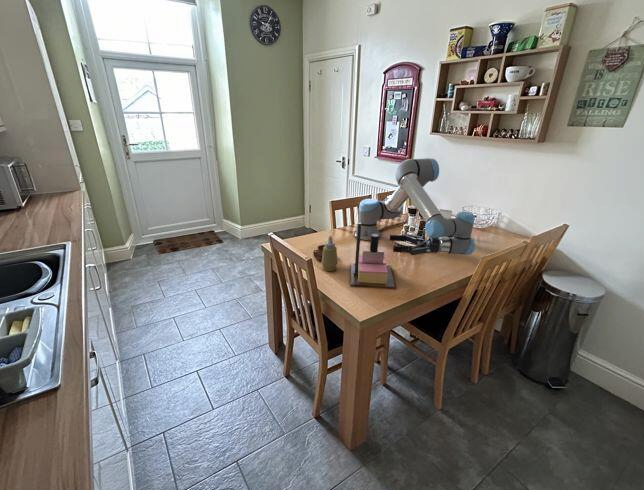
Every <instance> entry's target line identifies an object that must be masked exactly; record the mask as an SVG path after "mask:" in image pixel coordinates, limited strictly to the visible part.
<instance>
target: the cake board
mask: <svg viewBox="0 0 644 490" xmlns="http://www.w3.org/2000/svg"><path fill="white" fill-rule="evenodd" d="M357 226H358V228H357V227H356V228H357V238H356V243H355V245H356V246H355V258H354V263H350V287H354V288H355V287H357V288H371V289H392V290H395V289H396V286H395V281H394V277H393V274H392V269H391V266H390V264H389V265H388V264H386V266H387V270H388V277H387V284H381V283H363V282H359V281H358V263H359V255H360V248H361V239H360V235H361V223H358V222H357Z"/></svg>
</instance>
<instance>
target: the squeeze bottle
mask: <svg viewBox="0 0 644 490" xmlns="http://www.w3.org/2000/svg"><path fill="white" fill-rule="evenodd" d="M324 245H325V246H324V248H323V255H322V260H321V265H322V267H323V270H324V271H326V272H334V271H335V270H336V268H337V265H338V251H337V249H338V248H337V246H336V242H334V241H333V236H332V235H329V236H328V239H327V241H325V244H324Z"/></svg>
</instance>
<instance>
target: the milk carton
mask: <svg viewBox="0 0 644 490" xmlns="http://www.w3.org/2000/svg"><path fill="white" fill-rule="evenodd" d="M438 210H439V212H440V213H441V214H442V216H443V217H444V218H445V219H451V218H452V213H453V210H451V209H443V208H439V209H438ZM445 237H448V236H445Z"/></svg>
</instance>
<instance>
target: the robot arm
mask: <svg viewBox="0 0 644 490" xmlns="http://www.w3.org/2000/svg"><path fill="white" fill-rule="evenodd" d="M439 175H440V165H439V162H438V161H437V160H436V159H435V158H430V157H427V158H408V159H405V160H403V161H402V162H400V163H399V164H398V166H397V167H396V170H395V180H396V183H397V185H398V187H397V188H396V189H395V190H394V192H393V193H392V194H391V195H388V196H386V197H385V198H384V200H378V199H377V198H365V199H362V200H361V201H360V202H359V207H358V222H357V224H358V223H361V235H360V241H371V235H372V234H378V235H379V236H380V233H379V232H381V231H383V230H384V229H387V228H391V227H395V226H399V225H402V224H406V223H408V222H407V221H408V220H405V221H402V222H399V223H394V224H391V225H387V226H384V227H382V228H381V229H378V221H380V220H381V221H382V220H394V219H397V218H399V217H400V216H401V215H402V213H403V212H402V211H403V205H404V204H405V202H407V201H408V200H411V202H412V204H413V205H414V207H415V209H416V210H417V211H418V213H419V215H420V217H421V216H422V217H421V218H422V219H423V221H424V222H425V225H424V230H425V234H426V236H427V237H428V239H426V237H425V236H420V235H414V234H409V233H403V234H389V241H390V242H391V241H392V242H403V243H404V242H405V241H406V242H408V243H411V244H414V245H412V246H411V245H408V246H407V245H393V248H392V253H407V254H410V256H417V255H422V254H442V255H445V254H447V255H461V256H462V255H465V256H466V255H472V254H473V253H474V251H475V250H476V249H475V248H476V247H475V245H476V242H475V240H474V238H471V236H472V233H473V229H474V225H475V214H473V213H471V212H468V211H459V212H457V214H456V215H455V217H451V219H445V218H444V217H443V216H442V214H441V213H440V212H439V210H440V209H438V207H437V205H436V204H435V203H434V201H433V200H432V198H431V197H430V196H429V194H428V193H427V192H426V190H425V189H424V187H425V186H426V185H427V183H429V182H431V183H432V182H435V181H436V180H438V178H439V177H440V176H439ZM357 228H358V225H357V226H356V229H355V230H354V237H355V238H356V239H357ZM445 236H447V237H445ZM451 236H452V237H451Z"/></svg>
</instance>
